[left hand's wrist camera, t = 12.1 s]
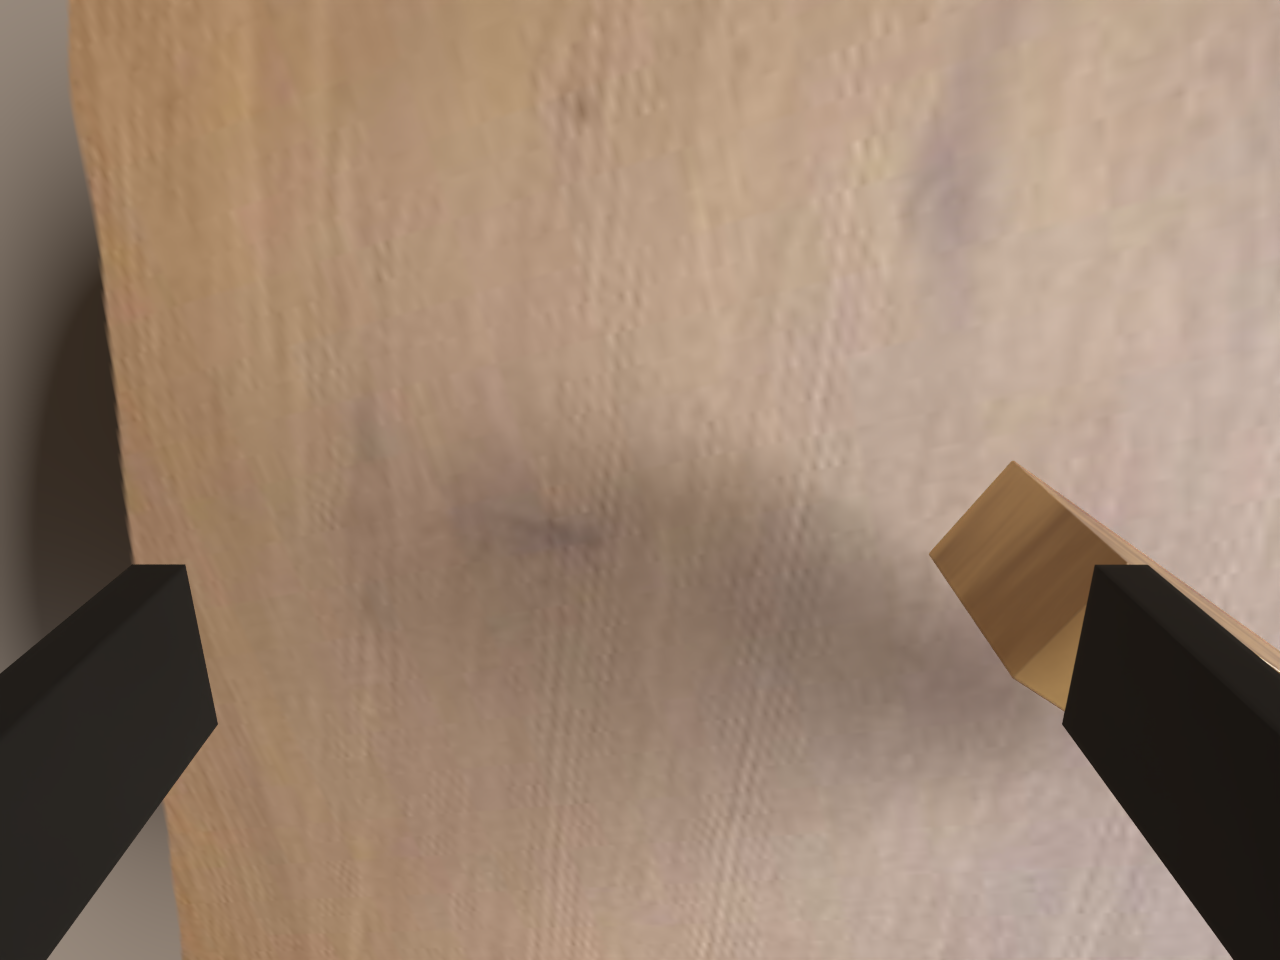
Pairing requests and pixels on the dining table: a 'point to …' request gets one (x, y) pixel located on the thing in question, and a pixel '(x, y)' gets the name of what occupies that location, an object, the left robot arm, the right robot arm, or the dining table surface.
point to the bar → (1043, 578)
